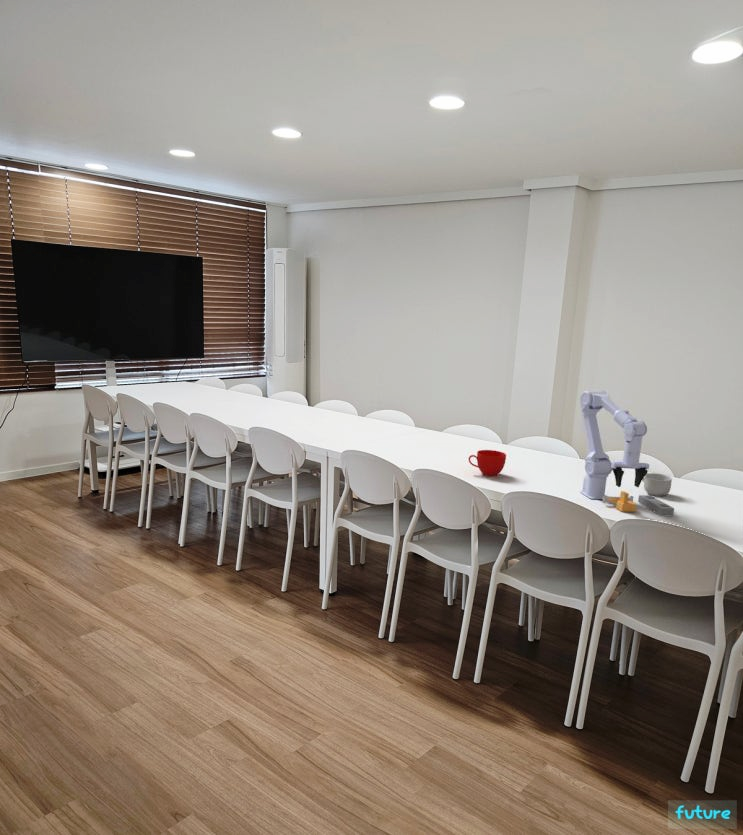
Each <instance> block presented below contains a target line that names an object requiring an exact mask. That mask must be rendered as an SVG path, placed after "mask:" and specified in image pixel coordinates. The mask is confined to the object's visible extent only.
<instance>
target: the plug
mask: <svg viewBox="0 0 743 835" xmlns="http://www.w3.org/2000/svg"><path fill="white" fill-rule="evenodd" d="M619 494H620V495H619V497H620V501H617V503H616V506H615V507H616V509H617V510H619V511H620V512H625V513H626V512H636V509H637V503H636V502H634V501H633V502H632V501H628V497H629V496H630V493H629V492H627V491H624V490H623V491H621V490H620V493H619Z"/></svg>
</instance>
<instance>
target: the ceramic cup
mask: <svg viewBox="0 0 743 835" xmlns="http://www.w3.org/2000/svg"><path fill="white" fill-rule="evenodd" d="M472 458H475V460H476V461H477V462H476V463H477V464H474V463H473V462H472V461H471V459H472ZM506 460H507V454H506V452H502V451H499V450H492V449H481V450H478V451H477V452H476V455H475V454H470V455H469V456H468V462H469V464H470V465H472V466H473V467H475V468H478V469H479V471H480V472H481V474H482V475H484V476H485V475H487V476H486V477H491V476H494V477H497V476H498V475H499V474H500V473H502V471H503V469H504V467H505V464H506Z"/></svg>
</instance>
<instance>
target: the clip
mask: <svg viewBox="0 0 743 835" xmlns="http://www.w3.org/2000/svg"><path fill="white" fill-rule="evenodd" d="M617 501H620V496H608V495H607V496H606V495H604V496H603V499H602V503H604V504H617ZM628 501H632V502H634V496H632V495H629V496H628Z"/></svg>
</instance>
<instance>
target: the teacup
mask: <svg viewBox="0 0 743 835" xmlns="http://www.w3.org/2000/svg"><path fill="white" fill-rule="evenodd" d="M672 480H673V477H671V476H669V475H667V474H664V473H659V472H658V473H656V472H651V473H649V472H647V474H646V475H645V476H644V478H643V479H642V481H641V482H643V490H644V491H645V492H646V493H647V494H649V495H651V496H654V495H655V497H664V496H666V495H668V494H669V493H670V491H671V488H672Z"/></svg>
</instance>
